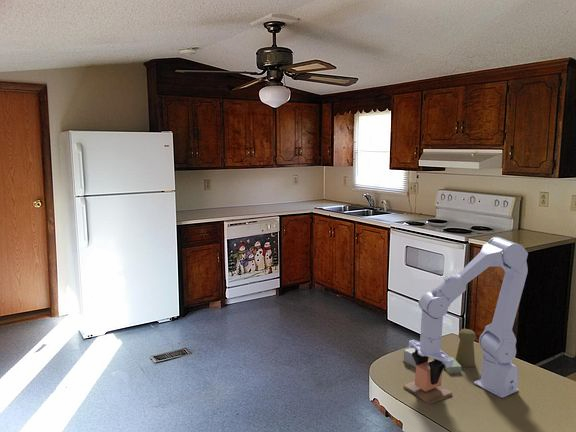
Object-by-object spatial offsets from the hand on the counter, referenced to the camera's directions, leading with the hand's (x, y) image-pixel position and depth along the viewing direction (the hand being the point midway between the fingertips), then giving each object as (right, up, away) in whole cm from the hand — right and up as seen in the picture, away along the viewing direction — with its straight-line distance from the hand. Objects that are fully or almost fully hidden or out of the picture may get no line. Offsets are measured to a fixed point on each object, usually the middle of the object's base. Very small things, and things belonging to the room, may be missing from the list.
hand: (428, 379), depth 136 cm
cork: (+17, -1, +18) cm, 25 cm away
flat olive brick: (+11, -2, +14) cm, 18 cm away
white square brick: (+1, -1, +18) cm, 18 cm away
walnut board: (0, -4, +1) cm, 4 cm away
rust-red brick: (0, -2, 0) cm, 2 cm away
